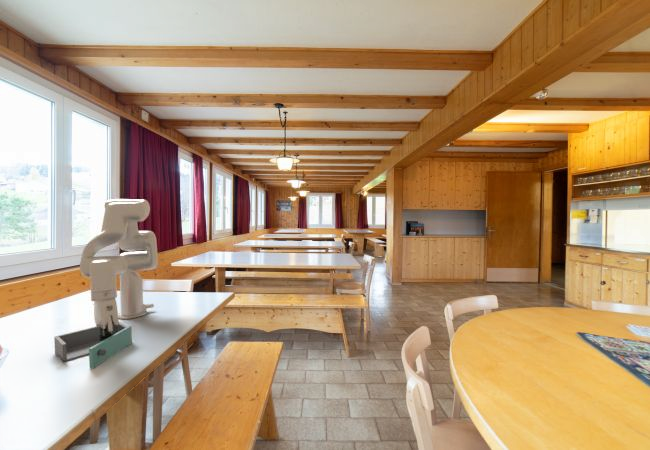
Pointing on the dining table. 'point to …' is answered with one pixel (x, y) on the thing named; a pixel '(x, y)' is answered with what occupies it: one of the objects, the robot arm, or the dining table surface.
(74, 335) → the case
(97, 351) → the green drawer with knob
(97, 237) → the robot arm
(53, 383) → the dining table surface
